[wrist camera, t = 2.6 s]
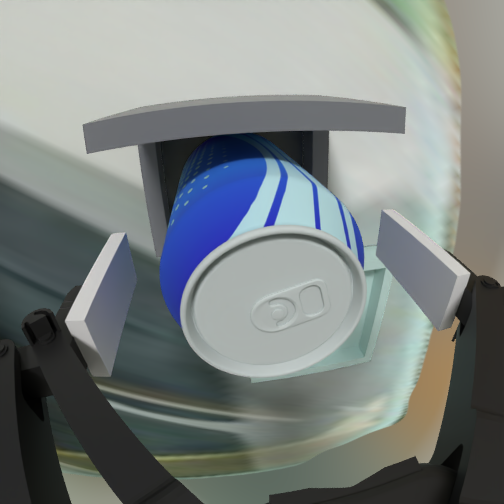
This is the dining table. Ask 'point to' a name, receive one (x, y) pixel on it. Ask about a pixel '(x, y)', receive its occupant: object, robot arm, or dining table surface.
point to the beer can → (260, 260)
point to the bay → (231, 122)
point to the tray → (368, 327)
